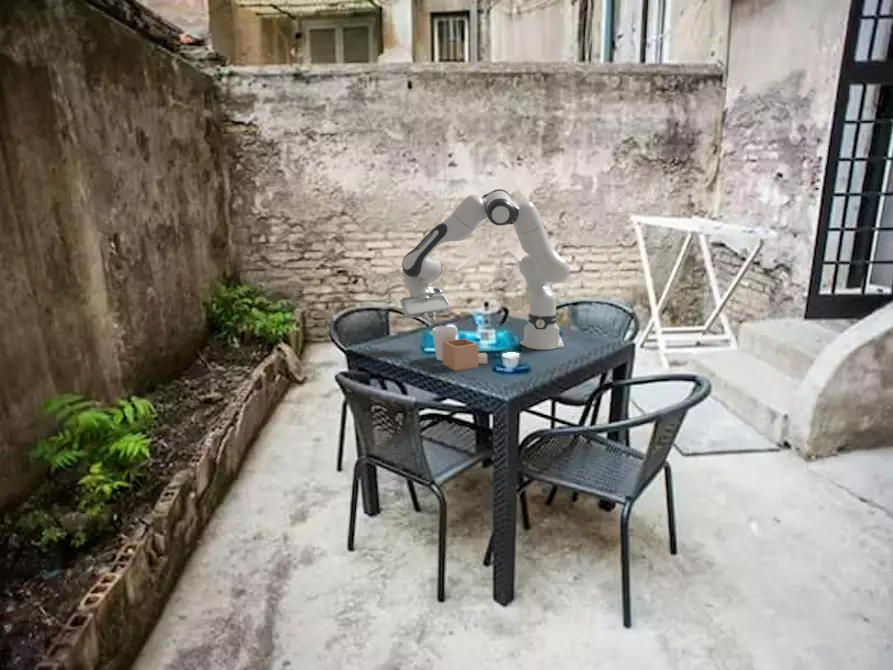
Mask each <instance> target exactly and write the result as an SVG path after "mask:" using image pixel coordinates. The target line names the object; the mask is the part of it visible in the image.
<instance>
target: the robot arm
mask: <svg viewBox="0 0 893 670" xmlns="http://www.w3.org/2000/svg"><path fill="white" fill-rule="evenodd" d="M485 219H488V220H489V221H490V223H491V224H492V225H495V226H501V227H502V226H506V225H513V227H514V229H515V230H514V231H515V232H516V235H517V237H518V241H519V243H520V246H521V248H522V250H523V251H524V252H525V253H526V255H525V256H522V258H521V259H520V262H519V263H518V264H519V266H518V267H519V272H520V274H521V276H522V277H523V278H524V280H525V283H526V286H527V289H528V296H529V313H528V316H527V318H528V320H527V321H528V323H526V325H525V326H524V334H523V340H521V341H519V345H520V344H521V346H524V347H526V348H529V349H531V350H533V349H534V350H541V351H542V350H546V351H547V350H554V349H560V348H561V349H562V348H564V343H563V339H562V336H561V335H560V327H559V326H558V324H557V321H558V320H557V319H558V318H557V315H558V314H557V312H556V311H557V295H556V294H555V292H554V291H553V289H552V287H551V285H550V284H552V285H553V284H561V283H564V282H565V281H567V280H568V278H569V277H570V273H571V267H570V264H569V263H568V261H566V260H565V259H564V258H563V257H562V256H561V255H560V254H559V253H558V251H557V250H556V249H555V247H554V246H553V245H552V243H551V241H550V239H549V237H548V235H547V232H546V230H545V227H544V223H543V221H542V217H541V216H540V213H539V211H538V209H537V207H536V206H535V204H534V203H533V202H531V201H529V200H521V201H518V202H516V201H514V200H513V199H512V196H511V194H510V193H509V192H508V191H506V190H505V189H501V188H500V189H495V190H492V191H490V192H488V193H486V194H483V195H482V197H481V196H479V195H477V194H469V195H468V196H467V197H465V198H464V199H463V200H462V202H460V203H459V204H458V206H457V207H455V209H454V211H453V212H452V213H451V215H450V216H448V217H447V218H446V219H445V220H444V221H443V222H441V223H439V224H437V225H436V226H435V227H433V228H432V229H431V230H430V231H429V233H427V234H426V236H424V238H423V239H422V240H421V241H420V242H419V243H418V244H417V245H416V247H414V248H413V249H411V250H410V251H409V252H408V253H406V255H404V257H403V259H402V262H401V266H402V267H401V268H402V269H401V270H402V273H401V274H402V277H403V280H404V284H405V286H406V288H407V289H408V294H409V296H410V297H409V296H408V297H402V299H400V301H399V303H400V306H401V307H402V310H403V315H404V318H406V319H413V318H414V319H415V318H419V317H422V318H423V319H424V320H425V321H426V322H427V323H428V324H429V325H430V324H436V323H437V319H436V316H437V315H440V314H446V313H448V312H449V311H450V309H451V304H450V302H449V299H447V296H446V295H445V294H444V293H443V290H442V288H438V287H432V286H429V284H431V283H433V282H434V281H436V280H437V279H438V278H440V276H441V274H442V270H443V267H442V266H443V265H442V263H441V261H440V260H439V259H438V258H435V257H433V256H429V255H430V254H431V253H433V251H434V250H435V249H436V248H437V247H438V246H440V245H442V244H444V243H450V242H461V241H464V240H466V239H468V238H469V236H471V235H472V234H473V232H474V231H475V230H476V228H477V227H478V225H479V224H480V223H481V222H482V221H483V220H485ZM430 316H431V317H430Z"/></svg>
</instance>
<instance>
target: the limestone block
mask: <svg viewBox="0 0 893 670" xmlns="http://www.w3.org/2000/svg"><path fill="white" fill-rule="evenodd" d="M481 364H482V365H483V364H485V365H486V364H488V354H487V352H478V365H481Z"/></svg>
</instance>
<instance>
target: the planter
mask: <svg viewBox="0 0 893 670" xmlns="http://www.w3.org/2000/svg"><path fill="white" fill-rule="evenodd" d="M478 353H479V343H478V342H475V341H473V340H470V339H468V338H466V337H464V338H456V339H455V340H449V341H443V361H442V365H444V366H446V367H447V368H450V369H451V370H453V371H454V372H458V371H463V370H469V369H474V368H475V369H476V368H479V364H478Z"/></svg>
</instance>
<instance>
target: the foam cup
mask: <svg viewBox="0 0 893 670" xmlns="http://www.w3.org/2000/svg"><path fill="white" fill-rule="evenodd" d="M457 330H458V329H457V328H456V327H455V326H448V325H446V326H445V325H442V326H436V327H433V328H432V338H433V345H434V351H435V356H436V357H435V358H436V361H437V360H438V361H442V362H443V341H449V340H456V339H457V334H458V333H457Z"/></svg>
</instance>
